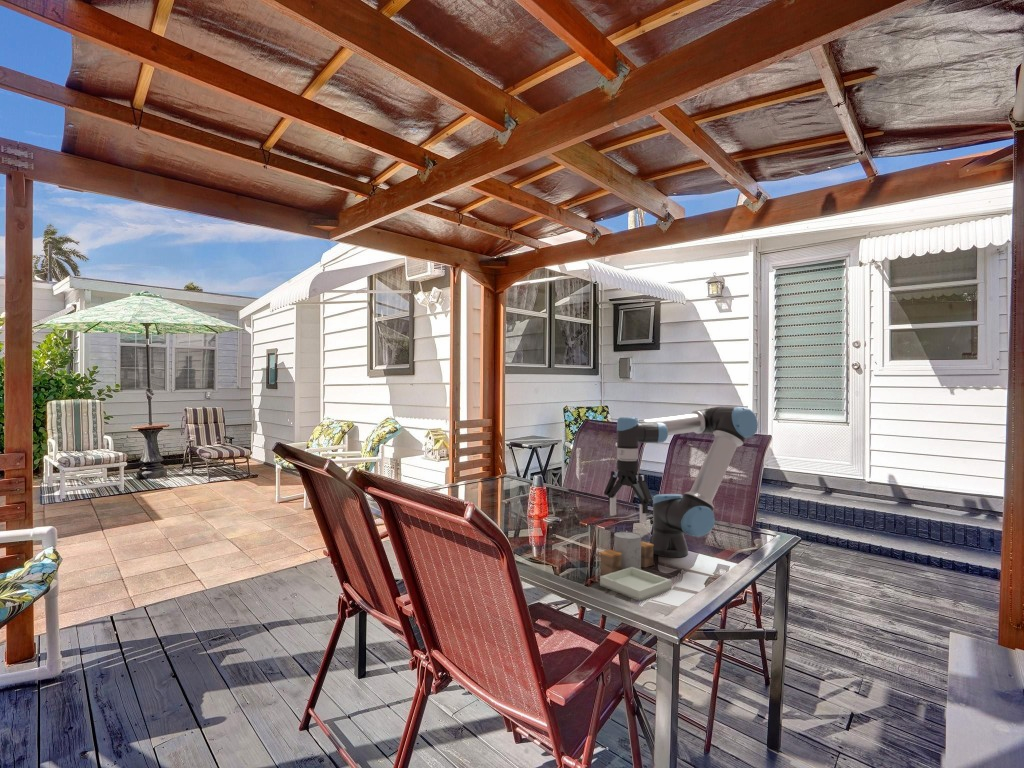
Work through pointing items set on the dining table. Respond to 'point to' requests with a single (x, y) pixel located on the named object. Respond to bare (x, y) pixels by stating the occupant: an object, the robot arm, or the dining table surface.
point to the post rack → (613, 558)
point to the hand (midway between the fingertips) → (627, 518)
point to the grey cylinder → (628, 549)
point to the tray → (635, 583)
